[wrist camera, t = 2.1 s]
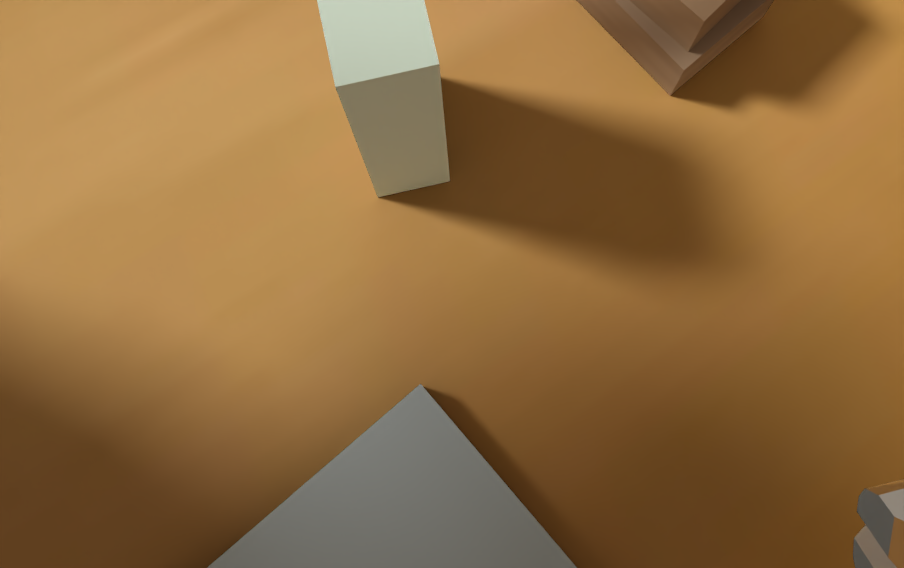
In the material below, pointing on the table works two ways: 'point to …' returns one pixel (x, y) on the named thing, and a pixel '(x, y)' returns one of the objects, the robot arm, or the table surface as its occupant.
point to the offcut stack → (675, 32)
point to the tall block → (389, 89)
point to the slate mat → (401, 506)
